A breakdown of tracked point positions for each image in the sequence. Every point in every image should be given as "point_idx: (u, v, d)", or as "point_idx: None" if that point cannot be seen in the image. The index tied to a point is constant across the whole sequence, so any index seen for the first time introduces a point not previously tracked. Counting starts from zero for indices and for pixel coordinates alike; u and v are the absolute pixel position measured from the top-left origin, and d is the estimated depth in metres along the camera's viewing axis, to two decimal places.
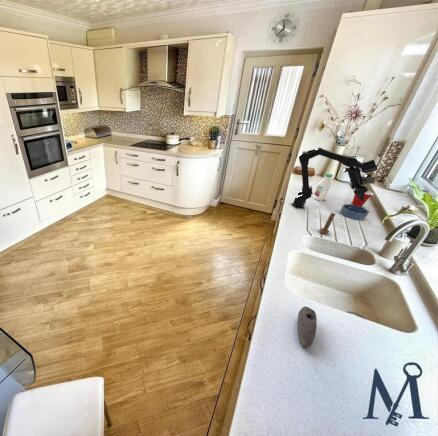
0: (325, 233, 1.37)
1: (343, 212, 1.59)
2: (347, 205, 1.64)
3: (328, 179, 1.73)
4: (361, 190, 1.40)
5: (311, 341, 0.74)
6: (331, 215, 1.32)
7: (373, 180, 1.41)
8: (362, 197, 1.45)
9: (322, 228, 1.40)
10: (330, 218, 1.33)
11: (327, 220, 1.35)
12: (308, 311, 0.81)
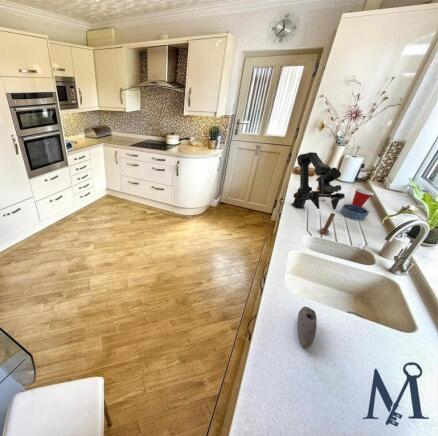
0: (325, 233, 1.37)
1: (343, 212, 1.59)
2: (347, 205, 1.64)
3: None
4: (309, 194, 1.41)
5: (311, 341, 0.74)
6: (331, 215, 1.32)
7: (329, 187, 1.34)
8: (317, 205, 1.39)
9: (322, 228, 1.40)
10: (330, 218, 1.33)
11: (327, 220, 1.35)
12: (308, 311, 0.81)
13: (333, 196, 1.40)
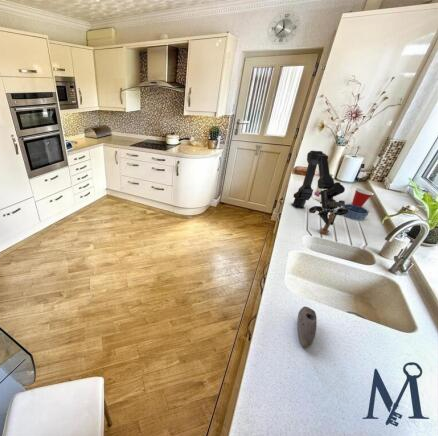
0: (325, 233, 1.37)
1: None
2: (347, 205, 1.64)
3: None
4: (311, 208, 1.37)
5: (311, 341, 0.74)
6: (331, 215, 1.32)
7: (332, 203, 1.30)
8: (326, 220, 1.35)
9: (322, 228, 1.40)
10: (330, 218, 1.33)
11: None
12: (308, 311, 0.81)
13: (330, 210, 1.36)
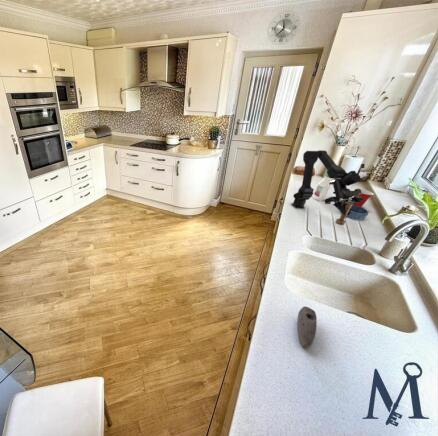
0: (342, 223, 1.34)
1: None
2: None
3: (328, 179, 1.73)
4: (328, 199, 1.32)
5: (311, 341, 0.74)
6: (349, 205, 1.29)
7: (350, 192, 1.27)
8: (343, 211, 1.32)
9: None
10: (347, 208, 1.30)
11: None
12: (308, 311, 0.81)
13: (345, 200, 1.33)
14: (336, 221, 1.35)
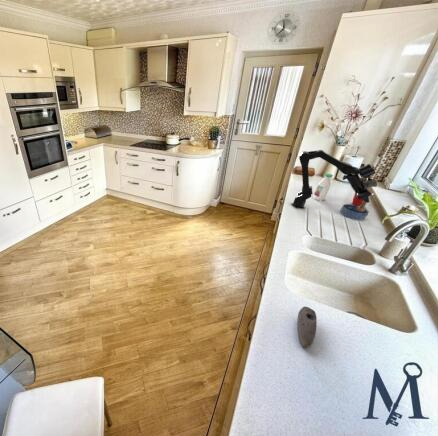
0: None
1: (343, 212, 1.59)
2: (347, 205, 1.64)
3: (328, 179, 1.73)
4: (364, 195, 1.40)
5: (311, 341, 0.74)
6: (371, 193, 1.45)
7: (375, 183, 1.41)
8: (367, 199, 1.47)
9: (358, 207, 1.51)
10: (370, 196, 1.46)
11: None
12: (308, 311, 0.81)
13: None
14: (361, 209, 1.50)
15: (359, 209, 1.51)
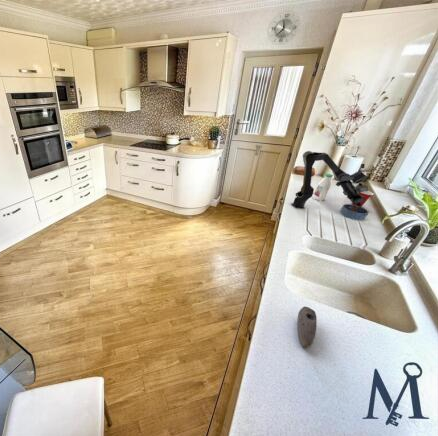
0: None
1: (343, 212, 1.59)
2: (347, 205, 1.64)
3: (328, 179, 1.73)
4: (359, 200, 1.49)
5: (311, 341, 0.74)
6: None
7: (366, 188, 1.50)
8: (359, 203, 1.56)
9: (351, 210, 1.60)
10: None
11: None
12: (308, 311, 0.81)
13: None
14: None
15: None
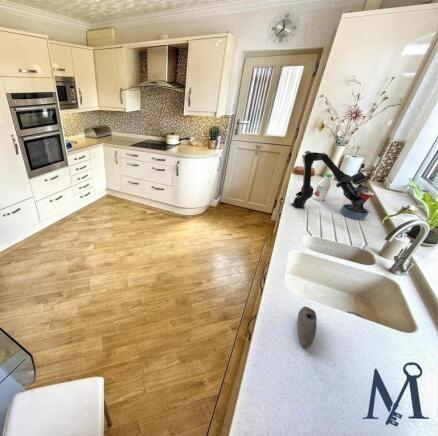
0: None
1: (343, 212, 1.59)
2: (347, 205, 1.64)
3: (328, 179, 1.73)
4: (359, 201, 1.47)
5: (311, 341, 0.74)
6: None
7: (366, 189, 1.49)
8: (361, 207, 1.52)
9: None
10: None
11: None
12: (308, 311, 0.81)
13: None
14: None
15: None
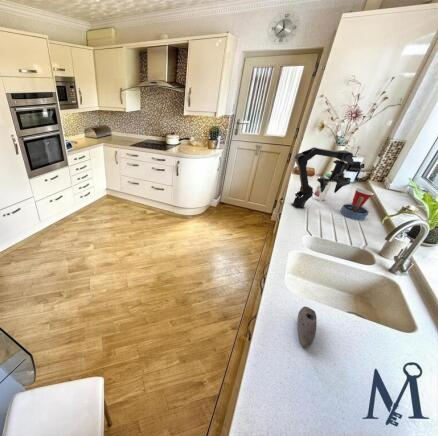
0: None
1: (343, 212, 1.59)
2: (347, 205, 1.64)
3: None
4: (320, 180, 1.56)
5: (311, 341, 0.74)
6: None
7: (339, 181, 1.49)
8: (322, 189, 1.59)
9: None
10: (361, 201, 1.54)
11: (359, 204, 1.55)
12: (308, 311, 0.81)
13: None
14: None
15: None
